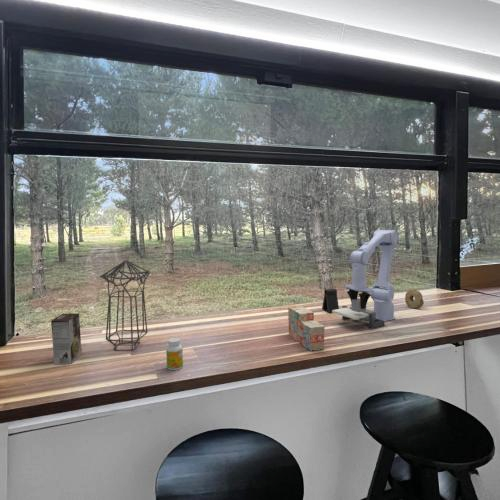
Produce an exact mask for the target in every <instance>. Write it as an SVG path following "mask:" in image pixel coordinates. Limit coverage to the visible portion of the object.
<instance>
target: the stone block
mask: <svg viewBox="0 0 500 500" xmlns="http://www.w3.org/2000/svg"><path fill="white" fill-rule="evenodd" d="M350 302H351V303H350V304H351V310H352V311H356V312H363V311H366V309H367V307H366V308H365V309H361V301H360V297H357V298H356V299H350Z"/></svg>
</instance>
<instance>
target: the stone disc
mask: <svg viewBox="0 0 500 500" xmlns="http://www.w3.org/2000/svg"><path fill="white" fill-rule="evenodd" d="M404 298H405V299H404V301H405V304H406V305H407V306H408V307H409V308H411V309H420V308H421V307H423V305H424V303H425V302H424V299H423V294H422V293H421V292H420V290H417V289H409V290H408V291H406V293H405V297H404Z"/></svg>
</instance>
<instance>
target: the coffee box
mask: <svg viewBox="0 0 500 500" xmlns="http://www.w3.org/2000/svg"><path fill="white" fill-rule="evenodd" d="M50 322H51V325H50V327H51V337H52V339H51V341H52V351H53V352H52V353H53V355H52V356H53V365H54V366H55V365H56V366H57V365H72V364H73V363H74V362H75V361H76V360H77V359H78V358H79V357H80V356H81V355H83V352H82V351H83V350H82V340H81V337H82V336H81V324H80V313H61V314H60V315H58V316H57V317H55V318H54V319H52V320H51V321H50Z"/></svg>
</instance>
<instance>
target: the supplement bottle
mask: <svg viewBox="0 0 500 500" xmlns="http://www.w3.org/2000/svg"><path fill="white" fill-rule="evenodd" d="M167 344H168V345H167V346H166V351H165V352H166V368H167V369H168V370H170V371H177V370H181V369H182V368H183V366H184V361H183V360H184V359H183V358H184V357H183V353H184V352H183V345H182V344H181V338H179V337H171V338H169V339H168V340H167Z"/></svg>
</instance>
